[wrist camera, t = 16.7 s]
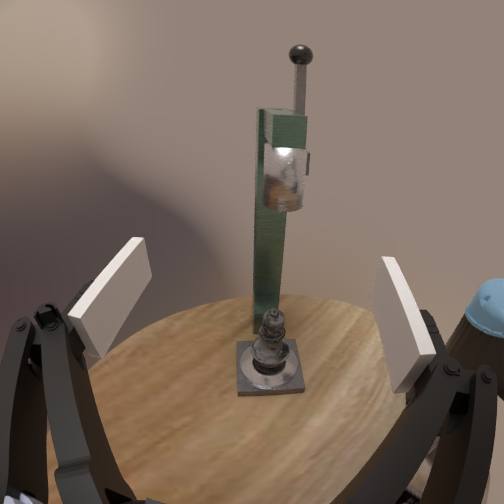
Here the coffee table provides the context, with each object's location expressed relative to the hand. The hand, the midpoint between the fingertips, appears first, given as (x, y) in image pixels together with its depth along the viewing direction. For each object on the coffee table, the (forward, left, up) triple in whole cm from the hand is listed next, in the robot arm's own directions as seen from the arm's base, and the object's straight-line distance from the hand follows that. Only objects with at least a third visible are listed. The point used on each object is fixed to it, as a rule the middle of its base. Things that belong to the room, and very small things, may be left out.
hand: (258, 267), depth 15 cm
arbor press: (-3, -17, -30) cm, 35 cm away
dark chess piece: (-3, -14, -28) cm, 32 cm away
